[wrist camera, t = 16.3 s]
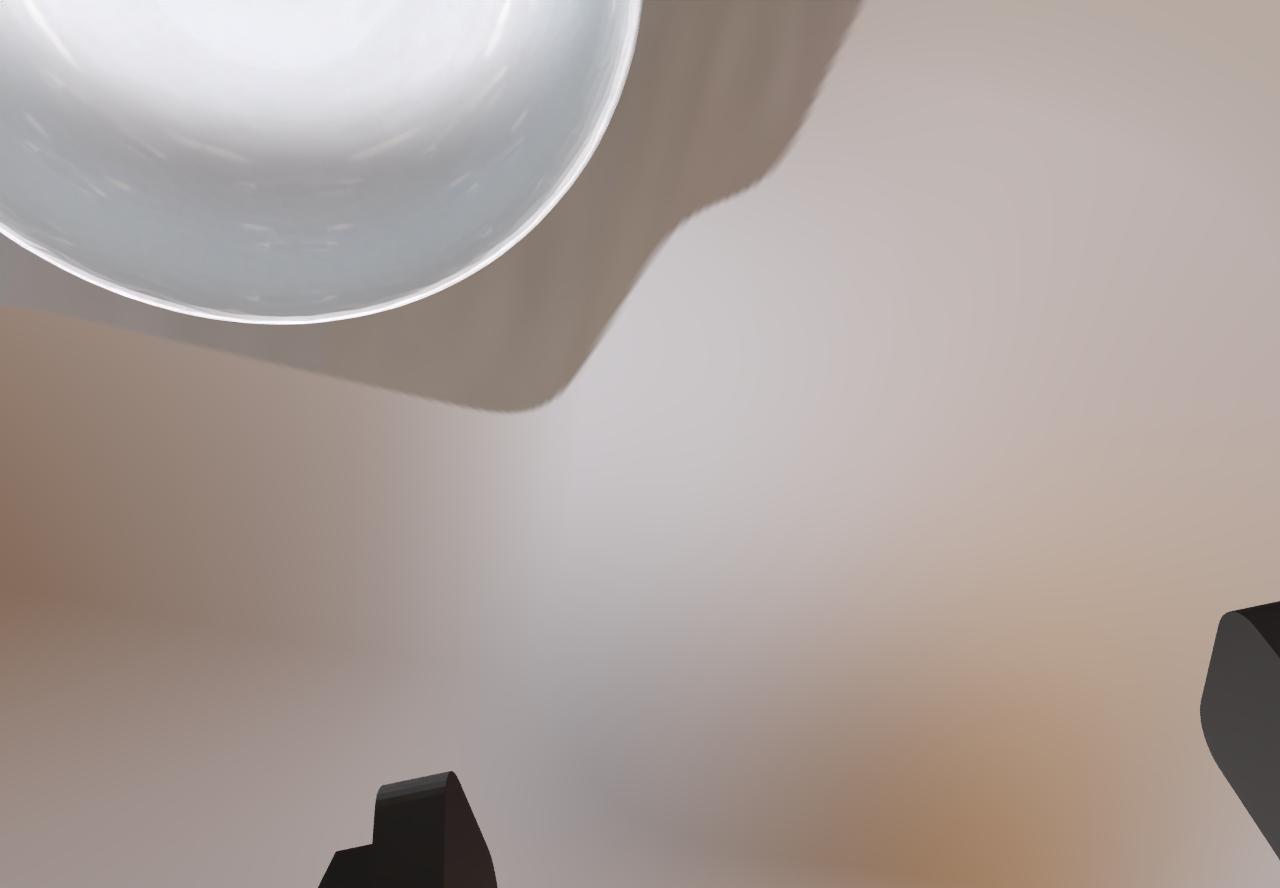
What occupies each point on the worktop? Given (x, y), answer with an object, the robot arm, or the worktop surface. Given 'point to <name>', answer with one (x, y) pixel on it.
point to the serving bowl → (296, 142)
